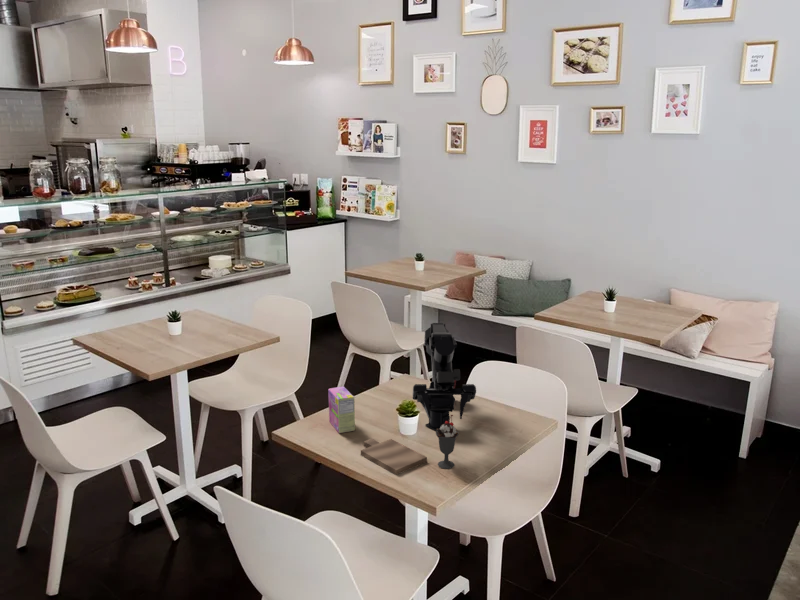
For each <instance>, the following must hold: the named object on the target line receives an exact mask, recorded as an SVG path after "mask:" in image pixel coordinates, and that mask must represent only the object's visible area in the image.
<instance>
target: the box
mask: <svg viewBox="0 0 800 600" xmlns="http://www.w3.org/2000/svg"><path fill="white" fill-rule="evenodd" d="M327 391H328V417H329V419H328V420H329V423H330V424H331V426H333V428H334V429H335V431H336V432H337V433H338V434H342V433H348V432H354V431H356V421H355V419H356V416H355V414H356V413H355V412H356V410H355V405H356V404H355V396H354V395H353V394H352V393H351V392H350V391H349V390H348V389H347V388H346V387H345V386H338V387H331V388H328V390H327Z"/></svg>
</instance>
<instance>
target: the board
mask: <svg viewBox="0 0 800 600" xmlns="http://www.w3.org/2000/svg"><path fill="white" fill-rule="evenodd" d="M363 447H364V448H363V449H360V456H362V457H363V456H364V458H365V457H366V458H365V459H367V460H369V461H371V462H372V463H375V464H376V465H378V466H380V467H381V468H383V469H385V470H387V471H389V472H390V473H391V474H394V475H396V476H398V475H400V474H402V473H404V472H406V471H408V470H411V469H413V468H416V467H418V466H421V465H423V464H426V463H427V462H428V457H427V456H426V455H424V454H422V453H420V452H418V451H415V450H414V449H412V448H410V447H408V446H406V445H404V444H402V443H400V442H398V441H397V440H394V439H393V438H390V439H387V440H384V441H380V442H379V441H378V440H375V439H374V438H369V439H367V440H364V441H363Z"/></svg>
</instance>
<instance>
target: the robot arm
mask: <svg viewBox="0 0 800 600" xmlns="http://www.w3.org/2000/svg"><path fill="white" fill-rule="evenodd" d="M423 340H424V342H423V343H424V345H423V346H424V347H425V348H426V353H427V354H428V355H429V356H430V358H431V376H432V377H431V378H432V381H431V382H430V383H429V384H430V385H429V387H427V384H426V383H424V384H419V383H418V384H417V383H415V384H414V385H413V386H412V400H415V401H417V403H420V404H421V405H422V407H423V409H424V411H425V413H426V415H427V418H428V423H425V425H424V426H425V427H426V428H429V429H431V430H434V432H436V431H437V429H439V428H440V427H441V426H442V425H443V424H444V423H445V422H446V421H448V420H449V419H450V420H449V421H448V422H449V423H450V421H451V418H450V417H451V415H450V412H452V413H453V411H454V410H455V402H456V401H455V400H456V398H455V395H456V396H460V400H459V401H460V402H459V419H460V420H462V419H463V415H464V410H465V408H466V405H467V403H470V402H471V401H472V400H474V399H475V397H476V394H477V388H476V387H477V386H476V384H474V383H472V384H471V383H468V384H467V383H464V384H463V383H462V384H461V387H460V388H459V387H455V388H453V386H454V380H456V381H460V380H461V370H460V369H459V368H454V369H453V363H452V361H453V357H454V353H455V350H456V349H457V348H458V344H457V341H456V340H455V337H453V334H452V333H451V332H449V330H448V329H447V328H446V323H443V322H432V323H430V326H429V328H427V329H426V330H425V331H424V339H423Z"/></svg>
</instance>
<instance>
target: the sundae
mask: <svg viewBox="0 0 800 600" xmlns="http://www.w3.org/2000/svg"><path fill="white" fill-rule="evenodd" d="M453 417H454V415H453V414H451V415H450V419H449V420H450V421H451V422H450V423H449V422H448V421H449V420H448V421H446V422H445V423H444V424H443V425H442V426H441V427H440V428H439V429H437V431H435V435H436V437H437V438H438V445H439V446H438V447H439V450H440V452H441V453H442V454H444V459H443V460H440V461H439V462H438V463H437V465H438V467H439V468H441V469H444V470H451V469H453V468H454V467H455V466H456V464H455V463H454V462H453V461H451V460H449V455H451V454H452V453H453V451H454V449H455V446H456V445H455V444H456V439H457V437H458V436H459V431H457V429H456V427H455V426H454V422H453Z"/></svg>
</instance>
